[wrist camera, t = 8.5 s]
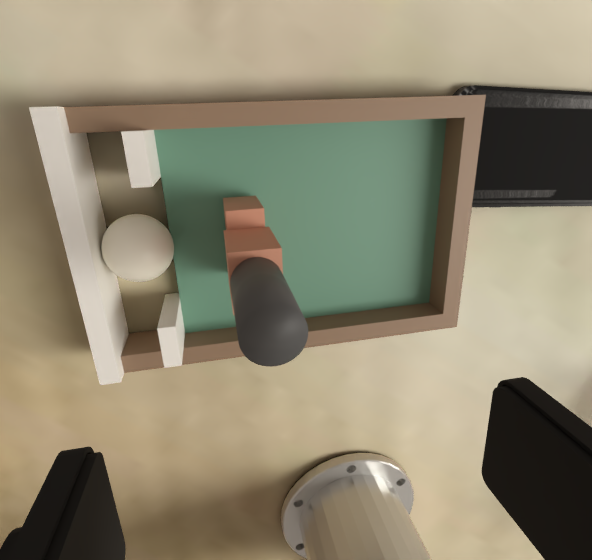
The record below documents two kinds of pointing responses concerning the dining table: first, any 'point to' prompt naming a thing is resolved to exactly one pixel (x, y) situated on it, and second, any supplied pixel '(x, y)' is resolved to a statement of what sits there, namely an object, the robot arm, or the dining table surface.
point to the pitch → (276, 214)
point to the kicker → (260, 287)
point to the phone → (533, 147)
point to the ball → (137, 247)
